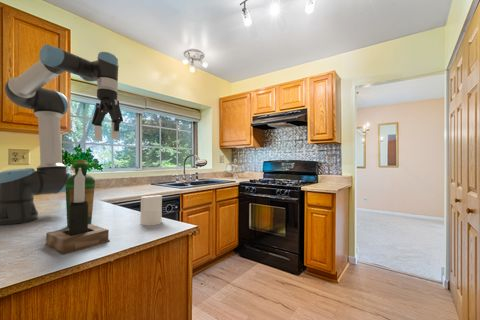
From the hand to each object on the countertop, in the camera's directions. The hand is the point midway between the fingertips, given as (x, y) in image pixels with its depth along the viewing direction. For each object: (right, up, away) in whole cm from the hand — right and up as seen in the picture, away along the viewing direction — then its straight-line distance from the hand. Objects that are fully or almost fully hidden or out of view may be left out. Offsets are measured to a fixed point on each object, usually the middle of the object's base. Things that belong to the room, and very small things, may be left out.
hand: (106, 140), depth 95 cm
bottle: (-12, -37, +1) cm, 39 cm away
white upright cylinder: (+17, -37, +7) cm, 41 cm away
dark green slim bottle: (+2, -36, -20) cm, 41 cm away
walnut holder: (+2, -37, -20) cm, 42 cm away
